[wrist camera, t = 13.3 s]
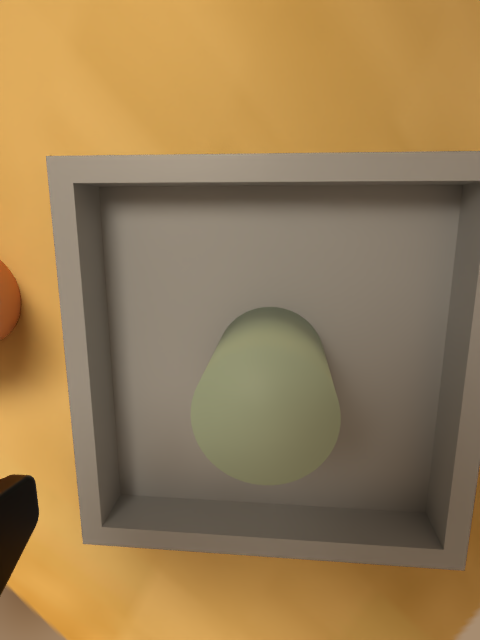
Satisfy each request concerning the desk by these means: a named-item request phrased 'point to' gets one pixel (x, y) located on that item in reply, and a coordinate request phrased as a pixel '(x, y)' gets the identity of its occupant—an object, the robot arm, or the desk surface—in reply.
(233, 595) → the desk surface
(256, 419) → the sage part
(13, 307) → the terracotta part
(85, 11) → the desk surface
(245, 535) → the tray
